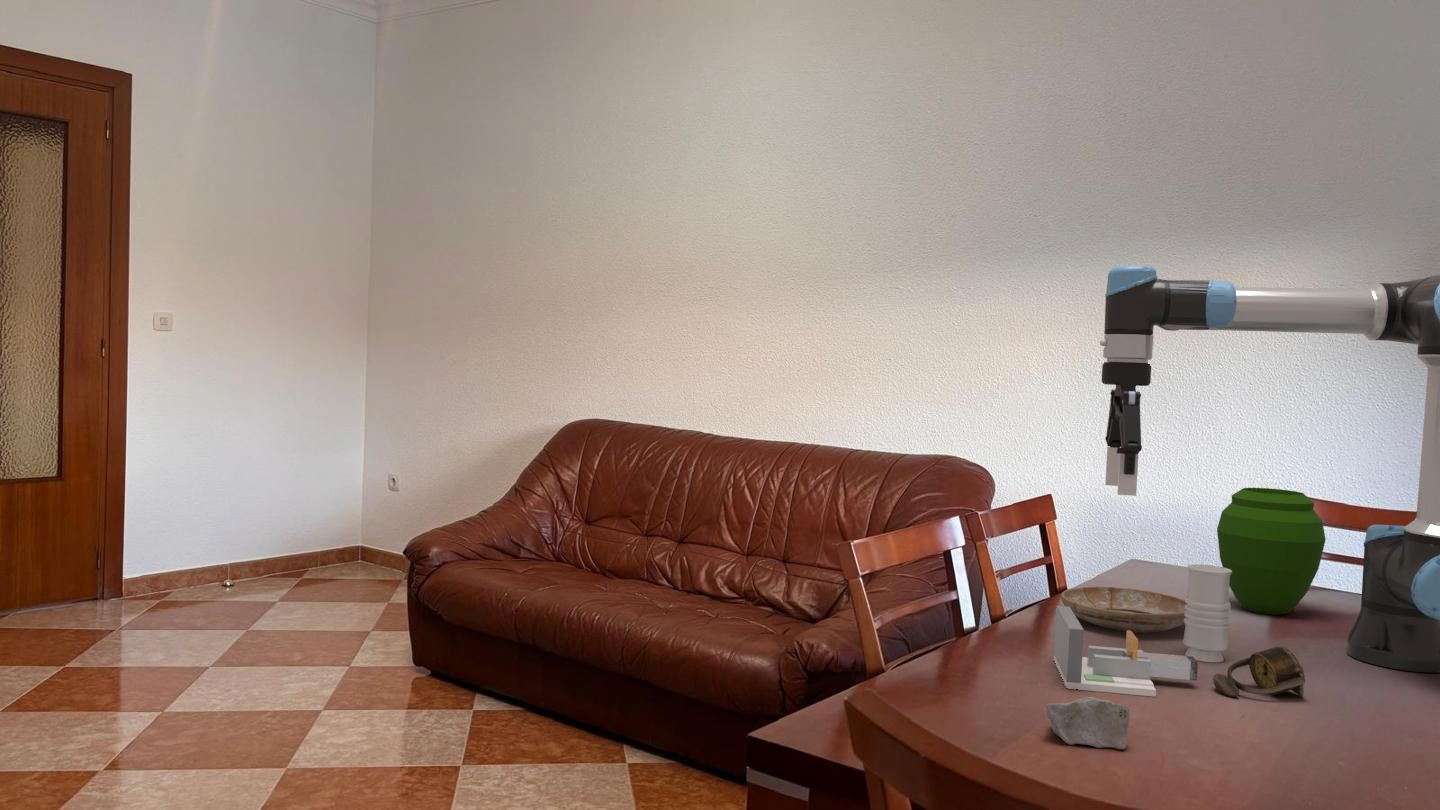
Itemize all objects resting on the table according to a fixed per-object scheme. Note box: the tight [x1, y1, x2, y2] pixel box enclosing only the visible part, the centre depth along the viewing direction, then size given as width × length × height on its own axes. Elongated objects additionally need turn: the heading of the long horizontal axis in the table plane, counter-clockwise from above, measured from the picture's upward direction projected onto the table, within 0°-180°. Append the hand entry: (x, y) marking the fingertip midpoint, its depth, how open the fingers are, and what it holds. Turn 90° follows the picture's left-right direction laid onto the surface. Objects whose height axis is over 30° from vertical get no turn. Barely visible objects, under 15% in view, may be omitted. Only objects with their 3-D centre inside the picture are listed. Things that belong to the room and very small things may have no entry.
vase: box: [1216, 487, 1326, 616], centre depth 212 cm, size 20×20×24 cm
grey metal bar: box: [1124, 630, 1199, 681], centre depth 158 cm, size 10×6×6 cm, turn 79°
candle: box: [1182, 563, 1232, 663], centre depth 175 cm, size 7×7×15 cm
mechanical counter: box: [1212, 645, 1306, 698], centre depth 157 cm, size 7×13×10 cm
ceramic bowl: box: [1060, 586, 1187, 633], centre depth 197 cm, size 23×24×5 cm
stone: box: [1046, 696, 1131, 750], centre depth 134 cm, size 8×10×6 cm
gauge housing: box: [1053, 605, 1157, 698], centre depth 161 cm, size 12×15×9 cm
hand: (1120, 490), depth 173 cm, fingers open, 13 cm apart
